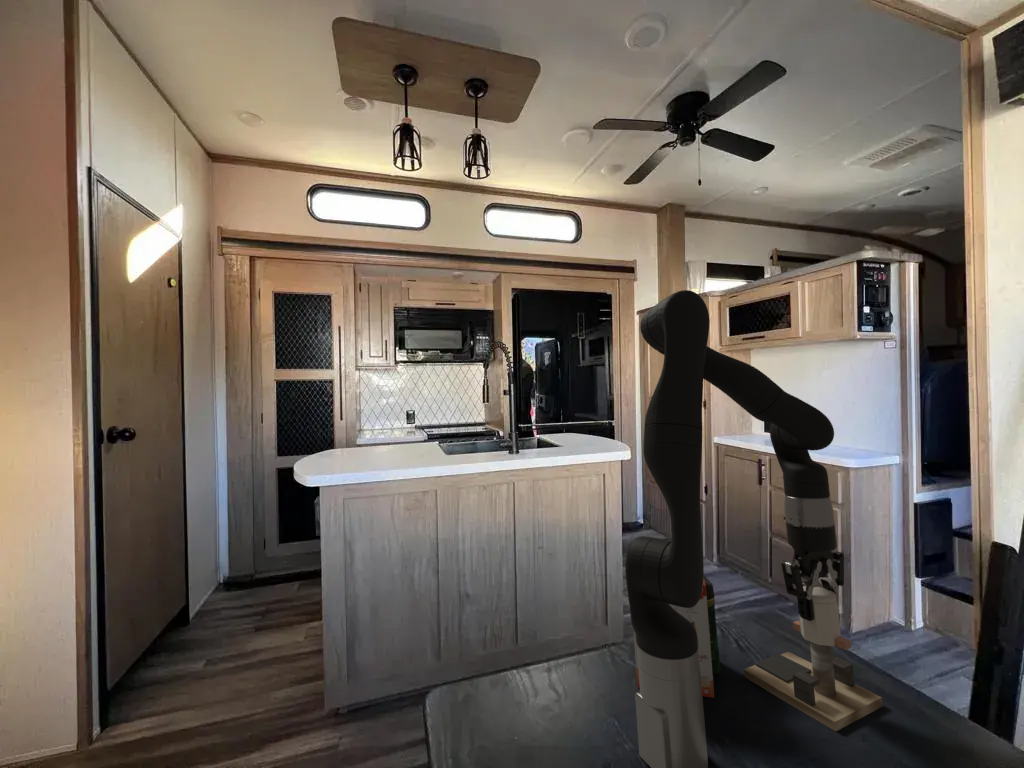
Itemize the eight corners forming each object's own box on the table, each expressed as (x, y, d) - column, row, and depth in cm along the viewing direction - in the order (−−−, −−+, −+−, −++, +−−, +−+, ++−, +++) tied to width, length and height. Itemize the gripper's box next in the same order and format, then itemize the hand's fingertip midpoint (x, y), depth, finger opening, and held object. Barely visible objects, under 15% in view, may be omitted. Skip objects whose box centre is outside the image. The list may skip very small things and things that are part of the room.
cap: (786, 631, 83) (781, 587, 84) (805, 624, 86) (800, 581, 86) (838, 653, 75) (833, 604, 76) (858, 644, 78) (852, 596, 78)
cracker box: (637, 689, 86) (628, 579, 88) (638, 671, 92) (630, 568, 93) (716, 700, 82) (705, 583, 83) (712, 681, 87) (703, 572, 89)
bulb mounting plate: (835, 731, 72) (829, 667, 73) (744, 677, 88) (739, 625, 89) (882, 706, 78) (876, 646, 78) (788, 659, 93) (784, 609, 94)
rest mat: (787, 683, 83) (786, 680, 83) (755, 665, 89) (755, 663, 89) (811, 672, 86) (811, 670, 86) (779, 655, 92) (779, 653, 92)
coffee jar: (726, 678, 88) (718, 582, 89) (685, 679, 89) (677, 583, 90) (709, 652, 98) (701, 565, 99) (672, 652, 98) (665, 566, 99)
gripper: (814, 511, 88) (823, 599, 87) (763, 521, 83) (771, 615, 81) (856, 518, 81) (866, 614, 80) (803, 530, 76) (813, 633, 74)
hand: (818, 614), depth 81 cm, fingers closed on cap, 5 cm apart
